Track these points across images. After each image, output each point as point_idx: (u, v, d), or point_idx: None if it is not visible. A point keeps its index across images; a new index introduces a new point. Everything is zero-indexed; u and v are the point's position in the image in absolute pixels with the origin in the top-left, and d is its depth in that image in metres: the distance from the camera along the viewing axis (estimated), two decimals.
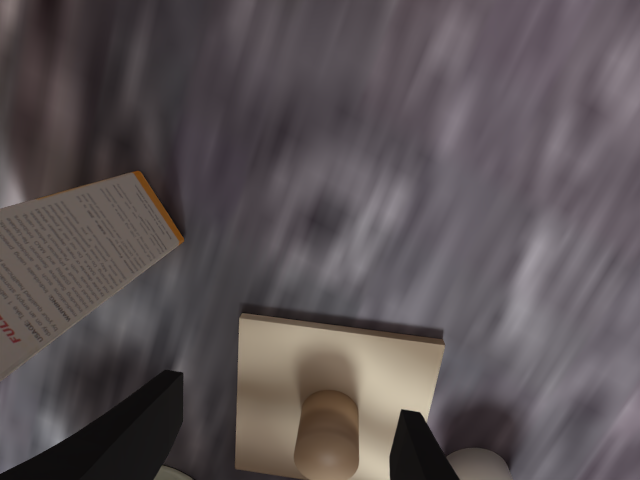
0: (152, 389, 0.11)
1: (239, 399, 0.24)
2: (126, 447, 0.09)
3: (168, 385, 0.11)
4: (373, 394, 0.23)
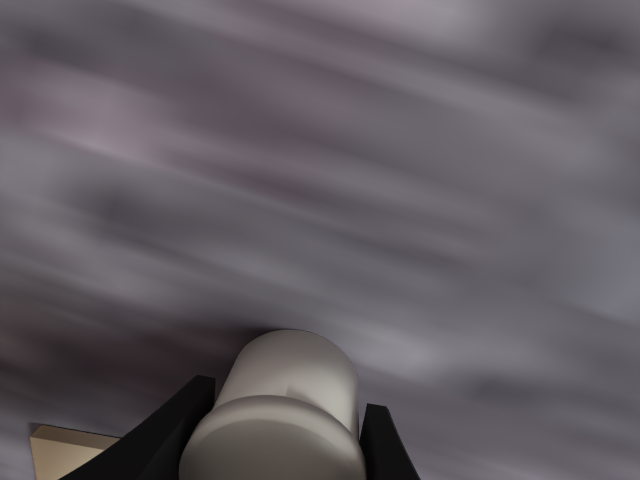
0: (188, 395, 0.11)
1: None
2: (167, 454, 0.09)
3: (203, 391, 0.11)
4: None
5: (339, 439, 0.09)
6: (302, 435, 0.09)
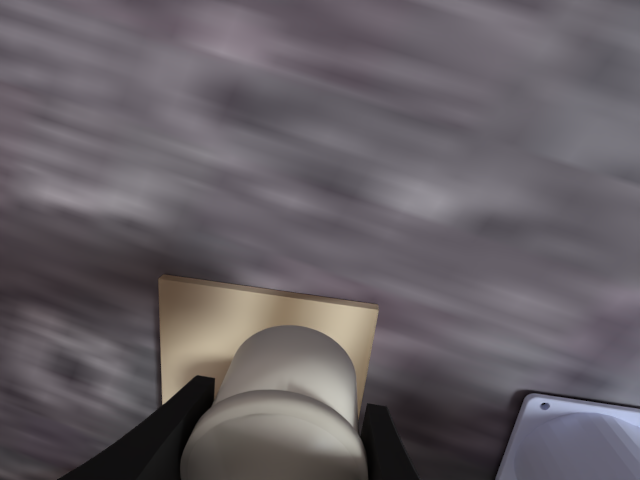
0: (188, 395, 0.11)
1: None
2: (167, 454, 0.09)
3: (203, 391, 0.11)
4: (230, 344, 0.22)
5: (341, 431, 0.09)
6: (305, 428, 0.09)
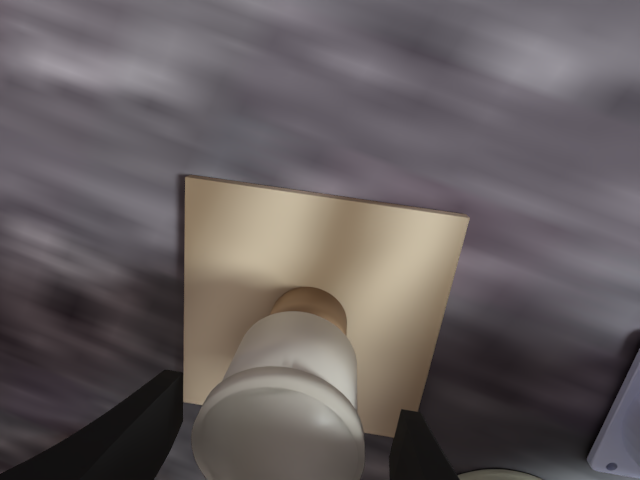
0: (152, 389, 0.11)
1: None
2: (126, 447, 0.09)
3: (168, 385, 0.11)
4: (273, 267, 0.17)
5: (340, 406, 0.10)
6: (307, 402, 0.10)
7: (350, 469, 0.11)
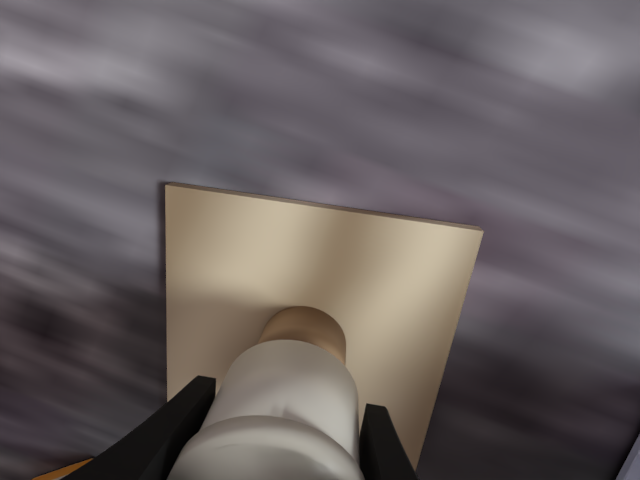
0: (189, 395, 0.11)
1: None
2: (168, 454, 0.09)
3: (204, 391, 0.11)
4: (264, 284, 0.15)
5: (341, 466, 0.08)
6: (300, 461, 0.08)
7: None
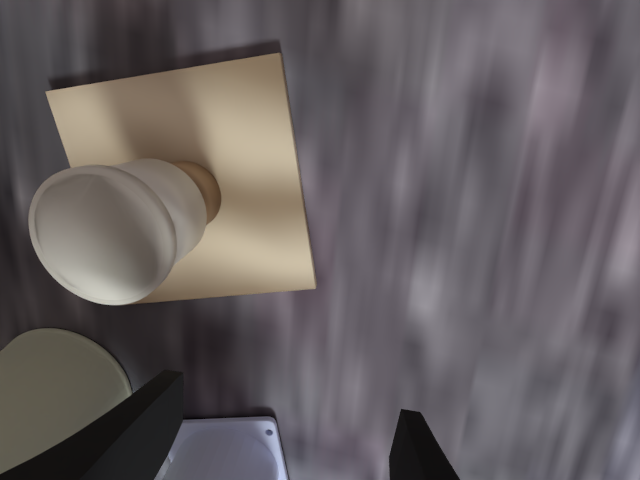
0: (152, 389, 0.11)
1: None
2: (126, 447, 0.09)
3: (168, 385, 0.11)
4: (225, 153, 0.19)
5: None
6: (47, 199, 0.13)
7: (116, 185, 0.12)
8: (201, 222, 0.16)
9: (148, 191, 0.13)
